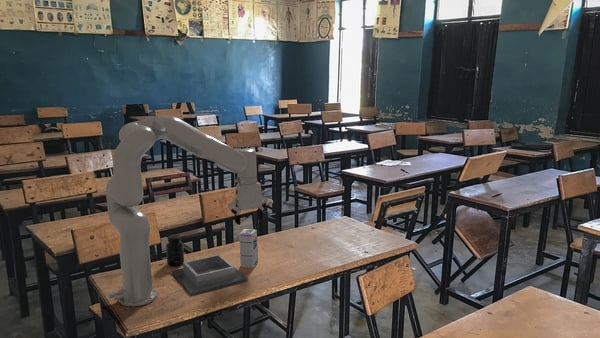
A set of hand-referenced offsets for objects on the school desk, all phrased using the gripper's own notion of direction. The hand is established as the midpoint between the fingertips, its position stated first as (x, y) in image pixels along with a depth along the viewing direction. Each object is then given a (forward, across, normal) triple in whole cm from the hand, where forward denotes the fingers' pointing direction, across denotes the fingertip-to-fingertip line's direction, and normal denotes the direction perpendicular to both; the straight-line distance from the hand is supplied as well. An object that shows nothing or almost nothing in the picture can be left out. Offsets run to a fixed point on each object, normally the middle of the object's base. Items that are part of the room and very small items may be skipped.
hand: (249, 221), depth 180 cm
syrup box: (+18, -1, 0) cm, 19 cm away
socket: (+18, -19, -2) cm, 26 cm away
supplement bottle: (+18, -26, +17) cm, 36 cm away
